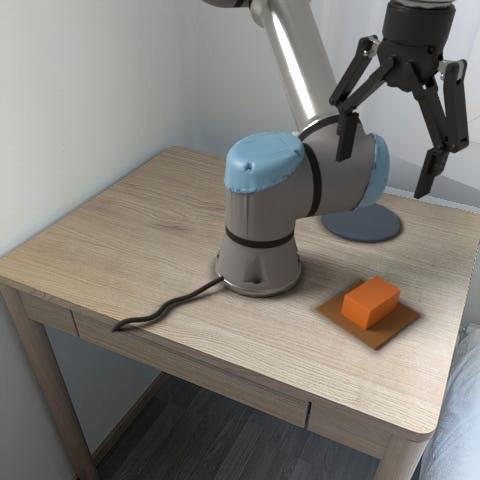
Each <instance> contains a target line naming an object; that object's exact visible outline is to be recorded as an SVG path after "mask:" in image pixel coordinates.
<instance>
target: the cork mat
mask: <svg viewBox="0 0 480 480" xmlns="http://www.w3.org/2000/svg"><path fill="white" fill-rule="evenodd" d="M365 282H366V281H365V280H363V279H360V280H358V281H357V282H356V283H354V284H353V285H351V286H348V288H346V289H345V290H344V289H343V291H341V292H340V293H338V294H337V295H335V296H333V297H331V298H330V299H328V300H327V301H325V302H324V303H322V304H320V305H319V306H317V307H316V308H315V311H316V312H317V313H319V314H321V315H322V316H323V317H325V318H326V319H328V320H330V321H331V322H332V323H334V324H335V325H337V326H338V327H340V328H341V329H343V330H344V331H346V332H347V333H349V334H350V335H352V336H353V337H354V338H356V339H357V340H359V341H361V342H362V343H364V344H365V345H367V346H368V347H369V348H370V349H372V350H374V351H375V350H377V349H378V348H380V347H381V346H382V345H383V344H385V343H386V342H388V340H390V339H391V338H393V337H394V336H395V335H397V334H398V333H400V332H401V331H402V330H403V329H404V328H406V327H407V326H409V325H410V324H411V323H412V322H414V321H415V320H416V319H418V318H419V317H421V313H419V312H417V311H416V310H414V309H412V308H410V307H409V306H407V305H405V303H404V304H403V303H402V302H400V301H399V300H398V302H397V305H396V309H394V310H393V311H392V312H390V313H389V314H387V315H386V316H385V317H383V318H382V319H380V320H379V321H378V322H376V323H375V324H373V325H372V326H371V327H369V328H368V329H366V330H364V329H363V328H361V327H360V326H358V325H357V324H355V323H354V322H352V321H351V320H349V319H348V318H346V317H344V316H343V315H341V311H342V306H343V302H344V297H345V295H346V294H348V293H349V292H351V291H352V290H354V289H356V288H357V287H359V286H360V285H362V284H363V283H365Z"/></svg>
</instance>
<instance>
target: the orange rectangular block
mask: <svg viewBox="0 0 480 480" xmlns="http://www.w3.org/2000/svg"><path fill="white" fill-rule="evenodd" d="M401 292H402V289H400V288H399V287H396V285H393V284H392V283H390V282H389V281H387V280H385V279H383V278H381V277H379V276H378V275H375V276H373V277H371V278H369V279H368V280H367V281H365V283H363V284H362V285H360V286H359V287H357V288H356V289H354V290H352V291H351V292H349V293H348V294H346V295H345V297H344V302H343V306H342V311H341V315H343V316H344V317H346V318H348V319H349V320H351V321H352V322H354V323H355V324H357V325H358V326H360V327H361V328H363V329H364V330H366V329H368V328H369V327H371V326H372V325H373V324H375V323H376V322H378V321H379V320H380V319H382V318H383V317H385V316H386V315H387V314H389V313H390V312H392V311H393V310H394V309H396V305H397V302H398V301H399V299H400V296H401Z"/></svg>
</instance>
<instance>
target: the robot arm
mask: <svg viewBox="0 0 480 480" xmlns="http://www.w3.org/2000/svg"><path fill="white" fill-rule="evenodd" d="M201 1H202V2H204V3H205V4H207V5H209V6H212V7H215V8H221V9H239V8H241V9H243V8H248V10H249V12H250V16H251V18H252V20H253V22H254V24H256V25H257V26H258V27H260V28H263V29H264V32H265V34H266V37H267V40H268V44H269V46H270V47H269V48H270V50H271V53H272V56H273V58H274V62H275V65H276V69H277V71H278V74H279V77H280V80H281V83H282V86H283V90H284V93H285V96H286V99H287V102H288V105H289V108H290V111H291V114H292V117H293V120H294V123H295V126H296V129H297V132H298V133H299V134H298V135H297V137H296V136H295V135H292V133H289V132H286V131H285V132H283V131H281V132H276V131H262V132H257V133H254V134H251V135H248V136H245V137H244V138H241V139H240V140H238V141H237V142H236V143H234V144H233V146H232V147H231V148H230V149H229V150H228V152H227V155H226V159H225V172H224V175H223V183H224V186H225V187H224V190H225V191H224V195H225V196H224V197H225V199H224V201H225V203H224V204H225V206H224V207H225V208H224V210H225V211H224V215H225V216H224V217H225V219H224V221H225V222H224V224H225V225H224V227H225V229H224V234H223V237H222V240H221V243H220V246H219V249H218V251H217V253H216V256H215V261H214V272H215V276H216V278H215V279H212V280H211V281H209V282H207V283H206V284H204V285H202V286H200V287H199V288H197V289H196V290H193V291H192V292H190V293H187V294H185V295H181V296H177V297H174V298H171V299H169V300H167V301H165V302H164V303H162V305H160V307H159V308H158V309H157V310H156V311H155V312H153V313H152V314H149V315H145V316H133V317H127V318H123V319H121V320H120V321H118V322H117V323H116V324H114V326H113V327H112V329H110V330H111V333H116V332H118V331H119V330H120V329H121V328H122V327H124V326H126V325H128V324H129V325H130V324H135V323H146V322H147V323H148V322H150V321H153V320H156V319H157V318H159V317H160V316H161V315H162V314H164V312H165V311H166V310H167V309H168V308H169V307H171V306H172V305H175V304H178V303H182V302H185V301H188V300H191V299H193V298H195V297H197V296H199V295H200V294H203V293H204V292H205V291H207V290H208V289H210V288H212V287H214V286H216V285H218V284H221V285H222V286H223V287H224V288H226V289H228V290H229V291H231V292H233V293H236V294H239V295H242V296H246V297H255V298H267V297H272V296H273V297H274V296H277V295H280V294H284V293H285V292H287V291H289V290H291V289H292V288H294V286H296V284H297V283H298V282H299V279H300V277H301V270H302V264H301V257H300V255H299V248H298V246H297V242H296V238H295V231H296V229H295V228H296V221H297V220H301V219H306V218H312V217H318V216H319V217H320V216H321V215H325V214H332V213H338V212H344V211H354V210H356V209H359V208H364V207H368V206H371V205H373V204H374V203H377V202H378V201H379V200H380V199H381V197H382V195H384V192H385V190H386V187H387V184H388V181H389V179H388V178H389V176H390V168H391V157H390V151H389V147H388V145H387V144H388V143H386V140H385V139H384V137H382V136H381V135H378V133H374V132H370V133H368V134H367V133H366V131H365V129H364V125H363V123H362V121H361V118H360V113H359V112H357V111H356V110H358V109H359V106H361V105H362V104H363V103H364V102H365V101H366V100H367V99H368V98H369V97H370V96H372V95H373V94H374V93H375V92H376V91H377V90H378V89H379V88H380V87H381V86H383V85H384V84H385V83H386V86H387V87H388V88H389V87H390V88H398V89H399V90H400V91H401V92H404V93H407V94H408V93H411V94H412V96H413V99H414V100H415V101H416V102H417V103H418V106H419V109H420V112H421V115H422V118H423V120H424V123H425V126H426V129H427V132H428V135H429V137H430V140H431V143H432V146H433V147H432V148H429V149H427V151H426V154H425V156H424V157H425V158H424V160H423V163H422V167H421V170H420V174H419V177H418V180H417V184H416V186H415V189H414V193H413V196H412V198H414V199H416V200H420V199H422V198H423V197H425V196H427V195H429V194H430V193H431V190H432V187H433V183H434V181H435V178H436V177H438V176H440V175H441V174H442V173H443V172H444V171H445V168H446V165H447V162H448V159H449V155H450V153H452V154H456V153H458V152H461V151H463V150H465V149H467V148H468V147H470V136H469V123H468V111H467V101H466V92H465V91H466V90H465V77H466V74H467V69H468V61H467V60H466V59H465V58H461V59H458V60H451V59H444V49H445V46H446V44H447V41H448V40H449V36H450V33H451V30H452V27H453V23H454V20H455V17H456V16H455V15H456V12H457V8H456V6H455V4H454V2H456V1H457V0H389V1H388V2H387V4H386V9H385V14H384V20H383V25H382V30H381V34H382V40H379V37H378V35H377V34H371V35H367V36H363V37H360V38H359V40H358V43H357V46H356V50H355V53H354V57H353V58H352V60H351V61H350V63H349V65H348V66H347V67H346V70H345V71H344V73H343V75H342V77H340V79H339V82H337V79H336V76H335V73H334V71H333V67H332V64H331V62H330V59H329V56H328V53H327V51H326V48H325V45H324V42H323V39H322V37H321V33H320V31H319V27H318V25H317V22H316V19H315V16H314V13H313V11H312V8H311V3H312V2H313V0H201ZM376 56H377V61H378V64H379V66H378V67H377V68H376V69H375V70H374V71H373V72H372V73H371V74H370V75H369V76H368V78H367V79H366V80H365V81H364V82H363V83H362V84H361V85H360V86H359V87H358V88H356V89H355V87H356V86H357V84H358V83H359V81H360V80H361V78H362V76H363V74H364V73H365V71H366V70H367V69H368V67H369V65H370V63H371V62H372V60H373V58H374V57H376ZM438 73H440V77H439V78H440V81H442V82H443V83H442V94H443V104H444V108H443V105H442V102H441V99H440V96H439V93H438V92H439V86H438V82H437V79H436V77H435V76H436V75H437V74H438ZM424 86H425V88H424ZM354 89H355V91H354V92H353V90H354Z"/></svg>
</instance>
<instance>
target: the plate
mask: <svg viewBox="0 0 480 480" xmlns="http://www.w3.org/2000/svg"><path fill="white" fill-rule="evenodd" d="M320 221H321V224H322V225H323V227H324V228H325V229H326V230H327V231H329V232H330V233H331V234H333V235H334V236H337V237H339V238H342V239H344V240H346V241H351V242H357V243H365V244H366V243H369V244H370V243H381V242H383V241H387V240H390V239H391V238H393V237H395V235H397V233H398V232H399V230H400V225H401V223H400V220H399V218H398V216H397V215H396V213H394V212H393V211H392V210H390V209H389V208H387V207H385V206H384V205H381V204H378V203H377V202H375V203H374V204H373V205H371V206H368V207H364V208H359V209H356V210H354V211H344V212H338V213H332V214H325V215H320Z"/></svg>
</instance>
